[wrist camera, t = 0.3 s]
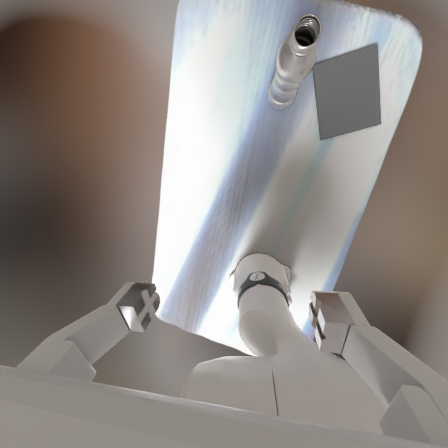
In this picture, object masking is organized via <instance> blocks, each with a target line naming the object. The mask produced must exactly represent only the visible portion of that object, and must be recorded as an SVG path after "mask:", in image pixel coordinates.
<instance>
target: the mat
mask: <svg viewBox="0 0 448 448" xmlns="http://www.w3.org/2000/svg"><path fill="white" fill-rule="evenodd" d="M312 69H313V78H314V87H315V96H316V105H317V114H318V123H319V132H320V140H323V139H327V138H331V137H335V136H338V135H342V134H346V133H350V132H353V131H357V130H361V129H365V128H369V127H372V126H376V125H379V124H381V112H380V88H379V64H378V44H375V45H372V46H369V47H367V48H364V49H361V50H358V51H355V52H352V53H349V54H346V55H343V56H340V57H337V58H334V59H331V60H328V61H325V62H322V63H319V64H316V65H314V67H313V68H312Z"/></svg>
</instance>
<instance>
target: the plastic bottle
mask: <svg viewBox="0 0 448 448" xmlns="http://www.w3.org/2000/svg"><path fill="white" fill-rule="evenodd" d="M320 33H321V23H320V20H319V18H318V17H317V16H315V15H313V14H306V15H304V16H302V17H301V18H300V19H299V20H298V22H297V23H296V25H295V27H294V30H293V32H291V33H290V34H289V35H288V36H287V37H286V38H285V39H284V40H283V42H282V43H281V45H280V47H279V49H278V52H277V58H276V72H275V76H274V79H273V80H272V82H271V84H270V86H269V89H268V102H269V104H270V106H271V107H272V108H273V109H275V110H284V109H286V108H288V107H289V106H290V105H291V104H292V103H293V101H294V100H295V97H296V94H297V89H298V87H299V85H300V84H301V82H302V81H303V80H304V79H305V77H306V76H307V75H308V74H309V73H310V71H311V70H312V68H313V67H314V64H315V62H316V58H317V49H318V47H317V41H318V39H319V36H320Z"/></svg>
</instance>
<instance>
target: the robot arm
mask: <svg viewBox="0 0 448 448" xmlns="http://www.w3.org/2000/svg"><path fill="white" fill-rule="evenodd" d="M286 274H287V275H286ZM229 281H230V283H231V285H232V287H233V292H234V293H235V294H236V297H237V302H238V309H239V319H238V330H239V334H240V337H241V339H242V341H243V342H244V344H245V345H246V346H247V348H248V349H249V350H250V351H251V352H252V353H254V354H255V355H256V356H226V357H222V358H217V359H213V360H209V361H206V362H202V363H199V364H198V365H197V366H196V367H195V368H194V369H193V371H192V372H191V373H190V375H189V377H188V379H187V381H186V383H185V385H184V388H183V390H182V394H181V398H177V397H171V396H166V395H161V394H155V393H150V392H144V391H138V390H133V389H127V388H122V387H116V386H111V385H105V384H100V383H94V382H92V380H93V379H94V377H95V375H96V371H95V370H94V368H93V367H92V364H93V363H94V362H95V361H96V360H98V359H99V358H100V357H101V356H102V355H103V354H105V353H106V352H107V351H108V350H109V349H110V348H112V347H113V346H114V345H115V344H116V343H117V342H119V341H120V340H121V339H122V338H123V337H124V336H125V335H127V334H128V333H129V331H140V332H145V330H146V328H147V326H148V325H149V323H150V322H151V316H152V315H153V314H154V313H156V311H157V309H158V307H159V304H160V297H159V295H158V294H157V293H156V292H155V290H156V286H155V284H152V283H139V282H128V283H126V284H125V285H124V286H123V287H122V288H121V289H120V290H119V291H118V293H117V294H116V295H115V296H114V297H113V298H112V299H111V300H110V301H109V302H108V304H107V305H103V306H101V307H99V308H98V309H96V310H94V311H92V312H91V313H89V314H87V315H85V316H84V317H82V318H80V319H78V320H77V321H75V322H73V323H71V324H70V325H68V326H66V327H64V328H63V329H61V330H59V331H58V332H56V333H54V334H52V335H51V336H49V337H47V338H46V339H45V340H44V341H43V342H42V343H41V344H40V345H39V346H38V347H37V348H36V349H35V350H34V351H33V352H32V353H31V354H30V355H29V356H28V357H26V358H25V359H24V360H23V361H22V362H21V363H20V364H19V365H18V366H17V367H16V368H12V367H6V366H1V365H0V448H448V381H447V380H446V379H445V378H443V377H442V376H440V375H439V374H438V373H436V372H435V371H434V370H432V369H431V368H430V367H428V366H427V365H426V364H424V363H423V362H422V361H420V360H419V359H418V358H416V357H415V356H414V355H412V354H411V353H409V352H408V351H407V350H405V349H404V348H403V347H401V346H400V345H399V344H397V343H396V342H395V341H393V340H392V339H391V338H389V337H388V336H387V335H385V334H384V333H382V332H381V331H380V330H378V329H377V328H376V327H371V326H370V325H369V323H368V321H367V320H366V318H365V316H364V315H363V313H362V312H361V310H360V308H359V307H358V305H357V303H356V302H355V300H354V299H353V297H352V295H351V294H350V293H348V292H328V291H312V292H311V300H312V302H311V303H310V304H309V316H310V321H311V324H312V326H313V327H314V328H315V329H316V330H315V338H316V341H317V344H316V343H315V342H314V341H312V340H311V339H310V338H309V337H308V336H307V335H306V334H305V333H304V332H302V330H301V329H300V328H299V327H298V326H297V324H296V323H295V321H294V319H293V317H292V314H291V312H290V310H289V304H292V300H291V296H289V293H290V269H289V268H288V267H287V266H284V265H282V264H280V263H279V262H278V261H277V260H276V259H274V258H273V257H271V256H269V255H266V254H261V253H256V254H251V255H248V256H246V257H245V258H243V259H242V260H241V261H240V262H239V264H238V266H237V268H236V270H235V272H233V273H232V274H231V275H230V277H229ZM330 352H332V353H339V354H342V356H343V357H344V358H345V359H346V360H347V361H345V360H343V359H340V358H339V357H337V356H335V355H333V354H331V353H330ZM271 369H272V370H271Z"/></svg>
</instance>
